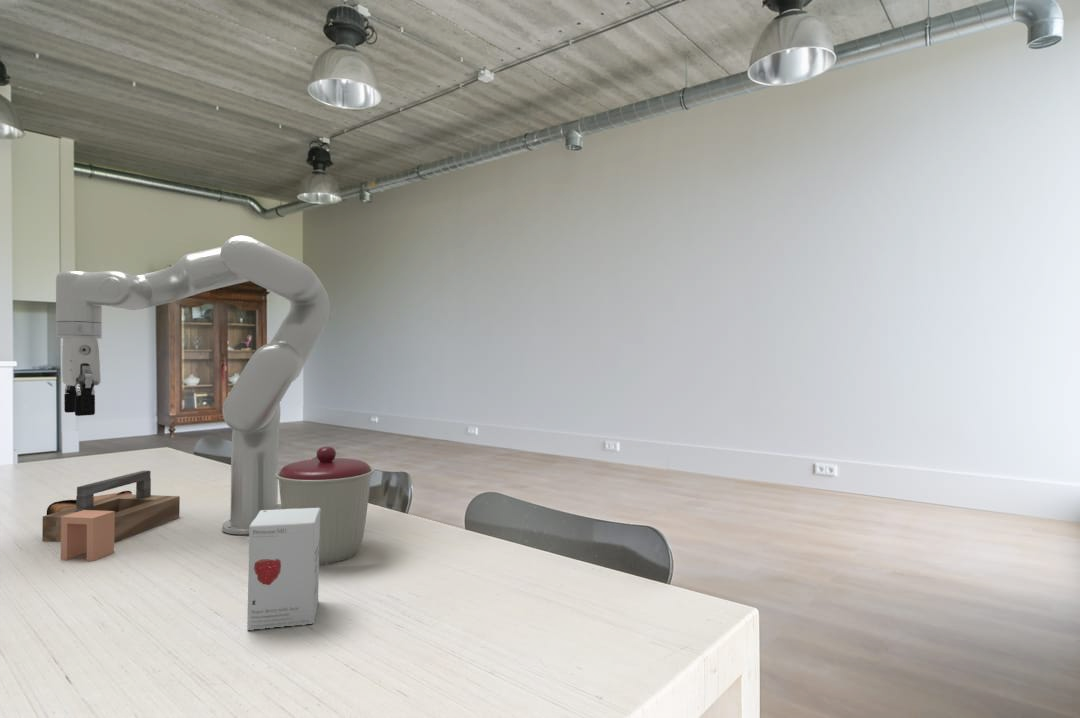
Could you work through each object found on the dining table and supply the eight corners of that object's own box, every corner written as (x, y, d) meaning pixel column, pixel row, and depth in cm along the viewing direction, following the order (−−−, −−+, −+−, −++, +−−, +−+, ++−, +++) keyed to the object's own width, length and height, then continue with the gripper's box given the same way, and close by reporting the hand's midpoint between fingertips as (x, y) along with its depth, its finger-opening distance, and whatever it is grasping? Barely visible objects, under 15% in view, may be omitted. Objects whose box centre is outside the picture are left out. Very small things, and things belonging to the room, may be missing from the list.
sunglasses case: (61, 523, 134) (55, 495, 136) (49, 534, 137) (44, 507, 139) (148, 506, 150) (141, 482, 151) (135, 517, 153) (129, 493, 154)
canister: (343, 576, 104) (344, 456, 104) (252, 568, 108) (253, 451, 108) (389, 544, 122) (390, 442, 122) (309, 538, 126) (311, 438, 126)
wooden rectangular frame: (179, 517, 140) (179, 470, 140) (110, 544, 120) (111, 489, 120) (120, 515, 142) (120, 468, 142) (42, 540, 122) (42, 487, 122)
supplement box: (245, 632, 83) (246, 525, 83) (257, 606, 92) (258, 509, 92) (314, 625, 86) (315, 521, 86) (320, 600, 94) (321, 506, 94)
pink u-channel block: (114, 552, 115) (114, 511, 115) (92, 561, 111) (92, 518, 110) (83, 551, 116) (84, 509, 116) (60, 559, 111) (61, 516, 111)
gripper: (112, 331, 121) (112, 415, 121) (91, 332, 133) (91, 409, 133) (65, 329, 115) (65, 418, 116) (48, 331, 127) (48, 412, 127)
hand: (79, 413), depth 124 cm, fingers open, 9 cm apart
